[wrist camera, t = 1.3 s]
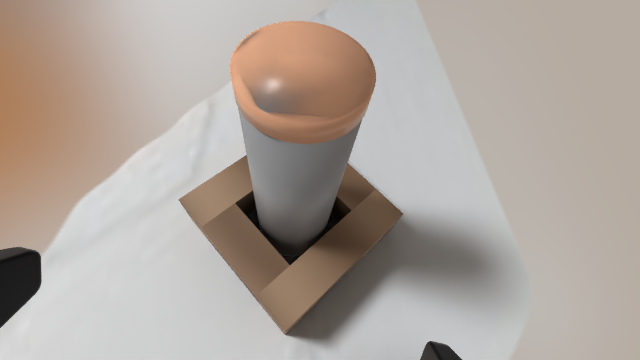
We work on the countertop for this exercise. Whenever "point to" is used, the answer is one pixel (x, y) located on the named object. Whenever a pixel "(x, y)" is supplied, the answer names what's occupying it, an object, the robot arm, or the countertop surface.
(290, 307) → the brown square frame
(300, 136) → the plug
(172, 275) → the countertop surface
